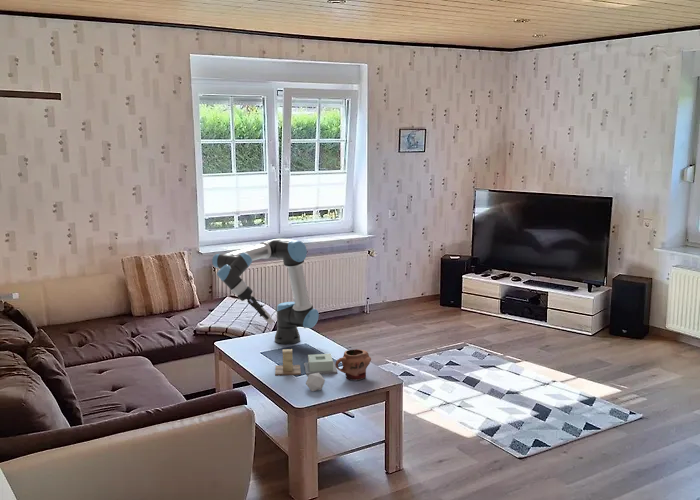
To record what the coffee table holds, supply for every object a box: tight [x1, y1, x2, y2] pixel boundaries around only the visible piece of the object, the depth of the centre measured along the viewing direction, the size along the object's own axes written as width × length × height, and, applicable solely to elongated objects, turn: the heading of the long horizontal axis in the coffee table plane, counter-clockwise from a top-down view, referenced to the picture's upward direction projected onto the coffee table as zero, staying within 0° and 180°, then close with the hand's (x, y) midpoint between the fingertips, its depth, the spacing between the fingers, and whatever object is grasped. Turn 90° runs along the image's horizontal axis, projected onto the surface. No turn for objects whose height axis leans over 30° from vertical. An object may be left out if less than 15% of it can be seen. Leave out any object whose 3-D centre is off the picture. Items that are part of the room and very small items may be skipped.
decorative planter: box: [335, 348, 372, 381], centre depth 326 cm, size 20×12×14 cm, turn 125°
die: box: [305, 373, 326, 392], centre depth 312 cm, size 8×9×10 cm
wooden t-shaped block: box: [274, 348, 302, 377], centre depth 338 cm, size 13×13×11 cm
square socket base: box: [303, 353, 338, 376], centre depth 340 cm, size 16×16×6 cm
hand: (270, 320), depth 334 cm, fingers open, 13 cm apart
